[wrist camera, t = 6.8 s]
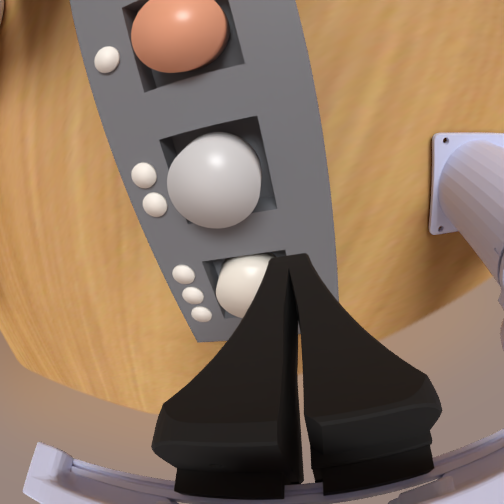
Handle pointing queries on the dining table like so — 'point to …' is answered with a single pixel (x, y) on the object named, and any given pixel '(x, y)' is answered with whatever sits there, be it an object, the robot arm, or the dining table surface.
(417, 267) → the dining table surface
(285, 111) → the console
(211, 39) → the button one
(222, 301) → the button three
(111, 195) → the dining table surface
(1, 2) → the ramekin
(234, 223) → the button two
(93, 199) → the dining table surface
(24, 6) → the dining table surface
